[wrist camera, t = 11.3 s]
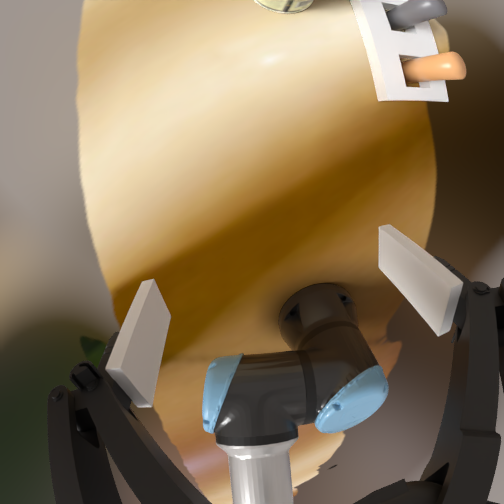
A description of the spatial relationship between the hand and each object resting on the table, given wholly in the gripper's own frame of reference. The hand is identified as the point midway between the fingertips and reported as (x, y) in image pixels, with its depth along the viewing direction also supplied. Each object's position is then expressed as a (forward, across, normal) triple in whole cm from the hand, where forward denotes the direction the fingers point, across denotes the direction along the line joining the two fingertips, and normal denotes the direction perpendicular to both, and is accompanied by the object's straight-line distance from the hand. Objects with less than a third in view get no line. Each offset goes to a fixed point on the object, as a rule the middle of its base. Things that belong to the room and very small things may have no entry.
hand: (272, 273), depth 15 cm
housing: (+27, -30, -19) cm, 45 cm away
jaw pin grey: (+27, -30, -24) cm, 47 cm away
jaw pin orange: (+27, -30, -14) cm, 43 cm away
